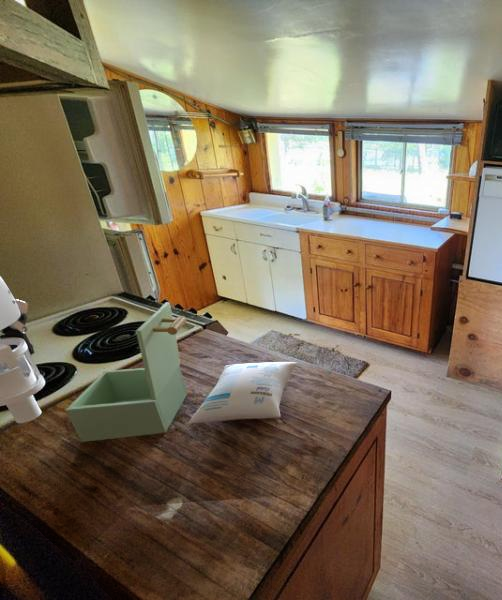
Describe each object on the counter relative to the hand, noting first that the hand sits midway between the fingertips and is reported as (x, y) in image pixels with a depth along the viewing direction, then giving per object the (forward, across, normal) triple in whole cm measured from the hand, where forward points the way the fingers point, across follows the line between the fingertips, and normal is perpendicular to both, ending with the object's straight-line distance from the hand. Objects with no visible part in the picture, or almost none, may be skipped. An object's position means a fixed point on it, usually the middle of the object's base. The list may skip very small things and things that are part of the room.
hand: (1, 368), depth 52 cm
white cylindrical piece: (+10, 0, 0) cm, 10 cm away
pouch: (+23, -14, +32) cm, 42 cm away
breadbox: (+24, -13, +8) cm, 28 cm away
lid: (+6, -13, +16) cm, 21 cm away
